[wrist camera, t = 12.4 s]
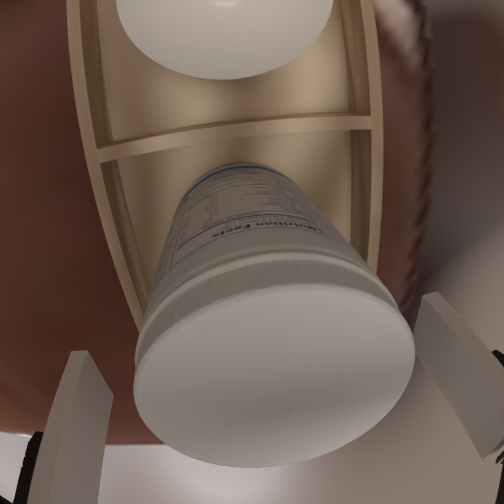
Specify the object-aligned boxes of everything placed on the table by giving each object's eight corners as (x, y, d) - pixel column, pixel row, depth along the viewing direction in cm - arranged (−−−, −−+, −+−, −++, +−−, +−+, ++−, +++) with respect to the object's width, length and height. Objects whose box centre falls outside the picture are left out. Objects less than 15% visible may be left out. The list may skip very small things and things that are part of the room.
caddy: (153, 318, 26) (146, 351, 22) (88, -34, 13) (67, -53, 9) (352, 288, 27) (370, 317, 23) (333, -60, 14) (354, -82, 10)
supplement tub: (318, 268, 24) (404, 431, 11) (198, 300, 24) (197, 484, 12) (295, 142, 20) (437, 238, 7) (153, 181, 20) (65, 336, 7)
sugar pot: (159, 96, 18) (113, 98, 9) (146, -22, 14) (104, -89, 5) (297, 80, 18) (360, 72, 10) (283, -36, 14) (329, -107, 6)
